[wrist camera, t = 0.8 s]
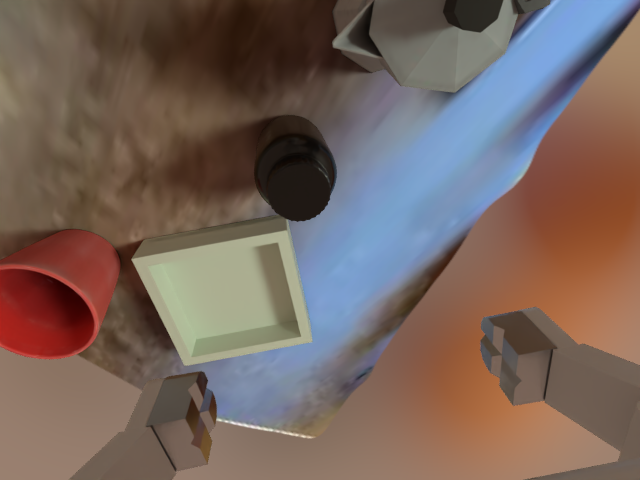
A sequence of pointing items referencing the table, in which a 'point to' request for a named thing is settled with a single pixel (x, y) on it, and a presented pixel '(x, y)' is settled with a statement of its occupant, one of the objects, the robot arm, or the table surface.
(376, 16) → the coffee maker
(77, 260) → the flower pot
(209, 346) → the tray
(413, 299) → the table surface
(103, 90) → the table surface
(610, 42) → the table surface
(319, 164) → the supplement bottle
